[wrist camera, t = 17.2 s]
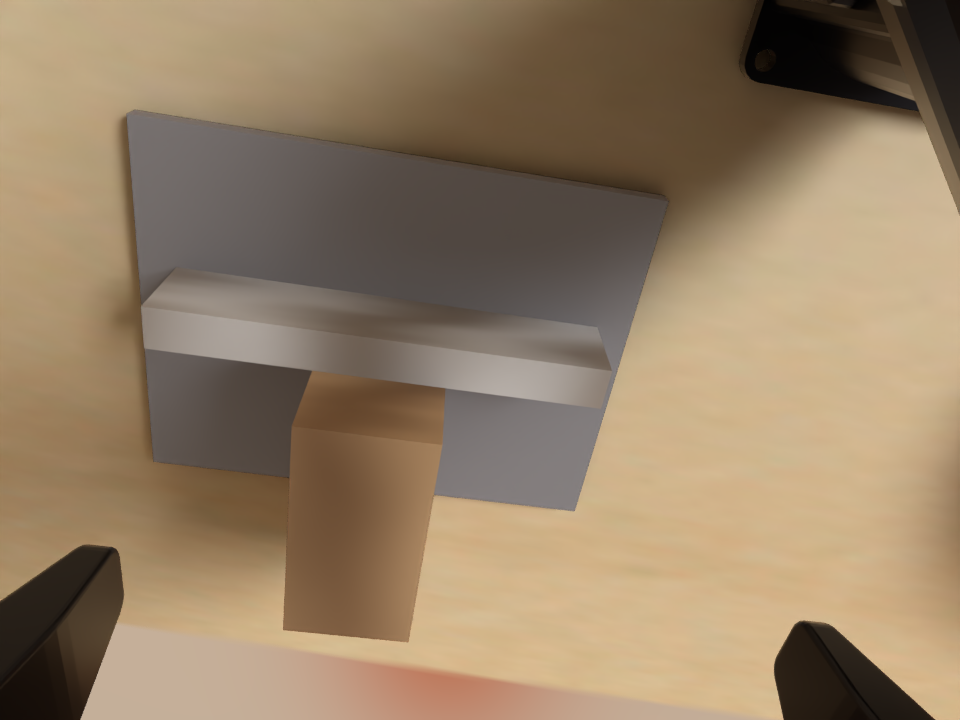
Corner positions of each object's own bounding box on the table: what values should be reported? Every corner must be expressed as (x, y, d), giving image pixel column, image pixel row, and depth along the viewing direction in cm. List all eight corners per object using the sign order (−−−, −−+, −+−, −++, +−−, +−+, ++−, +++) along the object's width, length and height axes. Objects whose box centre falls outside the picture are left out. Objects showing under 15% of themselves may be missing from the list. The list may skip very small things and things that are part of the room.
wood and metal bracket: (597, 327, 21) (630, 426, 17) (539, 533, 25) (554, 656, 21) (176, 267, 20) (94, 356, 15) (187, 493, 24) (125, 614, 20)
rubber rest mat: (664, 195, 20) (668, 201, 19) (572, 501, 25) (574, 511, 24) (134, 109, 18) (126, 113, 18) (159, 452, 24) (153, 461, 23)
